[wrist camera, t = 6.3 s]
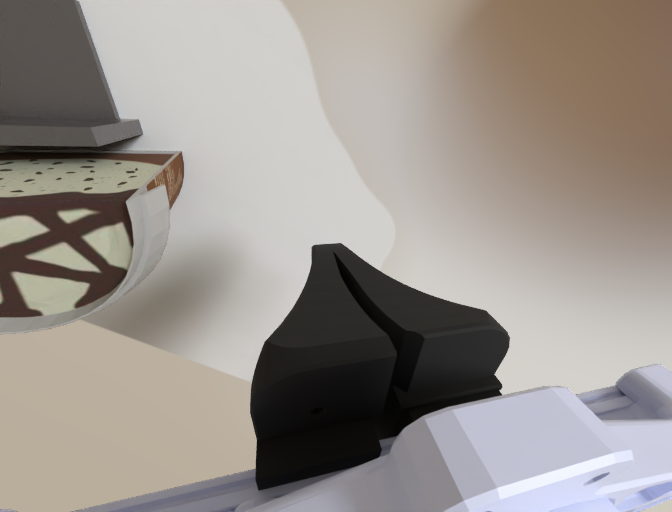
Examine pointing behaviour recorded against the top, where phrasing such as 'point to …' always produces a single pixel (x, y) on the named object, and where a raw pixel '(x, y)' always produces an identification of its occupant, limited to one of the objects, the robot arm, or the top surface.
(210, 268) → the top surface
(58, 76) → the bookend
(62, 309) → the food container
